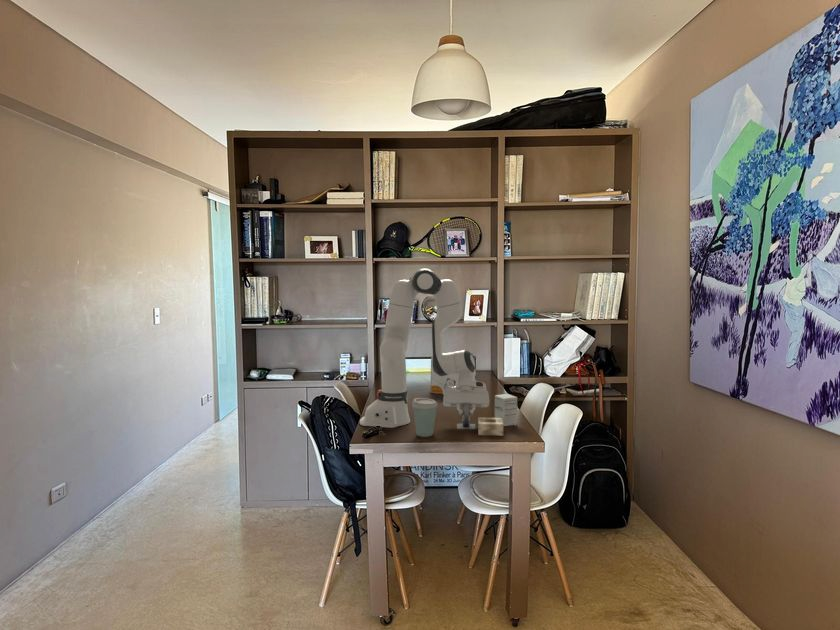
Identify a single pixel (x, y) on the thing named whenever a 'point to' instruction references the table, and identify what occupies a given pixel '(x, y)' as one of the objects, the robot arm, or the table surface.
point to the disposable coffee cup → (424, 416)
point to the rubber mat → (460, 426)
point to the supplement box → (506, 409)
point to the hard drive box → (441, 381)
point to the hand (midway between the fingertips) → (466, 414)
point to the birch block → (490, 426)
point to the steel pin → (466, 414)
